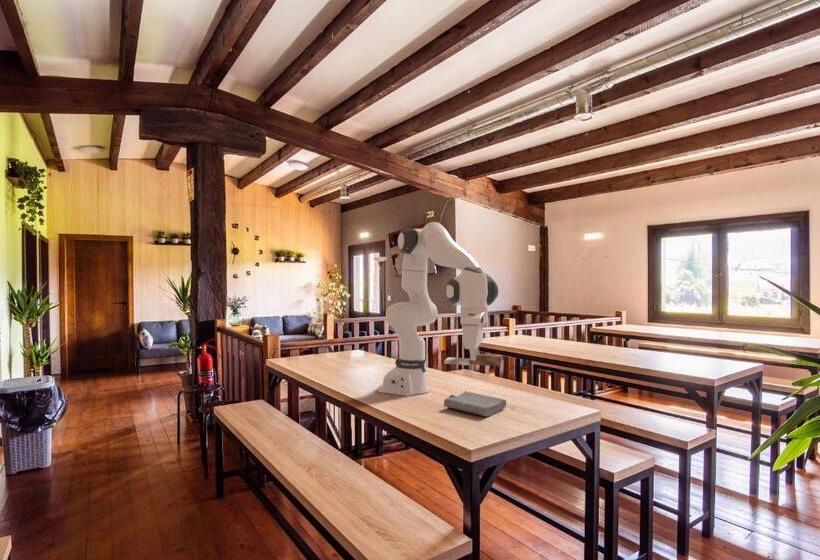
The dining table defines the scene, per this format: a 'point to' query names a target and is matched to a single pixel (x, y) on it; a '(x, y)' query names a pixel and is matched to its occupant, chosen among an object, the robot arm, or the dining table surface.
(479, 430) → the dining table surface
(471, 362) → the spatula
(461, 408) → the hip flask
